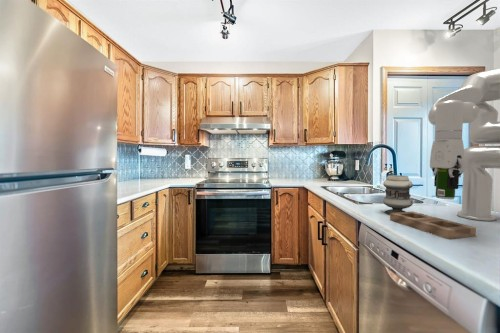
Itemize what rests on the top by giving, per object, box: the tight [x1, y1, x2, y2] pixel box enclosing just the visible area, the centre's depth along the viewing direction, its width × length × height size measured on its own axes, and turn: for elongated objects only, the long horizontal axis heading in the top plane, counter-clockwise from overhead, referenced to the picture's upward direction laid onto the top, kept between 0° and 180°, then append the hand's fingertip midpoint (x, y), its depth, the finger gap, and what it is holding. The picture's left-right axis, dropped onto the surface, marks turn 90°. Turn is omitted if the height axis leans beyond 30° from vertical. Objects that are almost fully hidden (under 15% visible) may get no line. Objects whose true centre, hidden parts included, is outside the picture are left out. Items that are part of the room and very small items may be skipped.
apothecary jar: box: [382, 174, 414, 215], centre depth 114 cm, size 12×12×18 cm
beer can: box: [435, 167, 456, 200], centre depth 86 cm, size 5×5×12 cm
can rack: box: [389, 211, 477, 240], centre depth 93 cm, size 24×12×3 cm, turn 14°
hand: (445, 187), depth 86 cm, fingers closed on beer can, 5 cm apart
